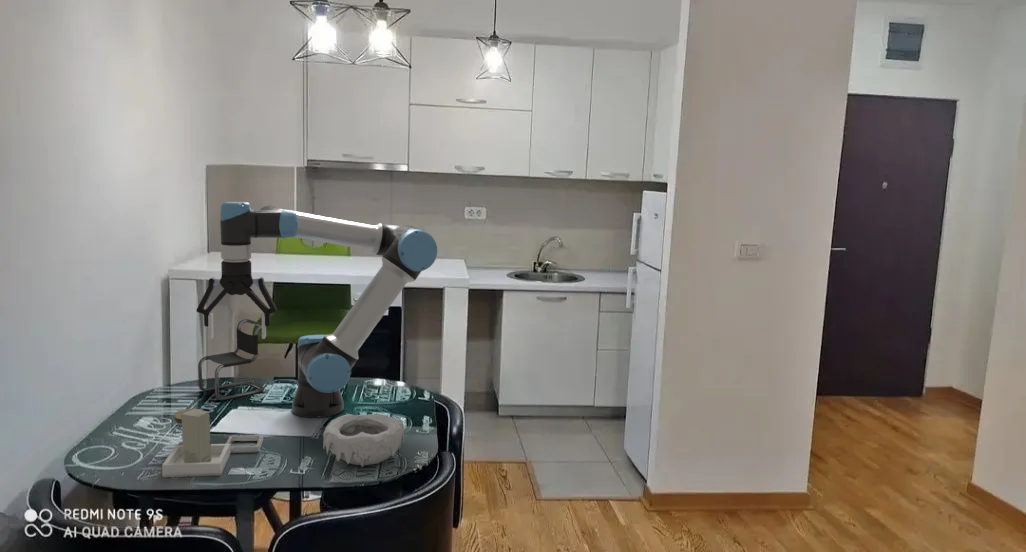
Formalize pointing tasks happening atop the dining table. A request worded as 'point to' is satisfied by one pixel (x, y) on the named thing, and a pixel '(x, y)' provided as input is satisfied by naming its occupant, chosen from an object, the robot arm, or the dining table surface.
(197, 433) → the box
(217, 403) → the dining table surface
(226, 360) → the chair
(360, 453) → the bowl
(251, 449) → the pin seat
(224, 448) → the tray
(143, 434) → the dining table surface
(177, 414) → the mounted dome knob
